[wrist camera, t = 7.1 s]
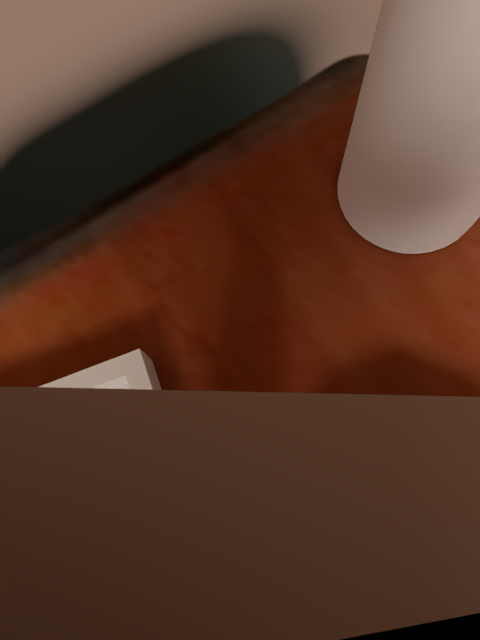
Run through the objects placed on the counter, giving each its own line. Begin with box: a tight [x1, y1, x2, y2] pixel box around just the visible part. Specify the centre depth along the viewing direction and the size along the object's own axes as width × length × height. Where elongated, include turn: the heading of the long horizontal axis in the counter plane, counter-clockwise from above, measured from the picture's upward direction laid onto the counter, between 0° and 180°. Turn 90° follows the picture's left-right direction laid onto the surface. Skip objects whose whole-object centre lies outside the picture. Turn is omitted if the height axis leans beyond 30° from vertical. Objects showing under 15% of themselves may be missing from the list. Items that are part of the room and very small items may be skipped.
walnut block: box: [0, 386, 480, 640], centre depth 9 cm, size 5×5×15 cm
